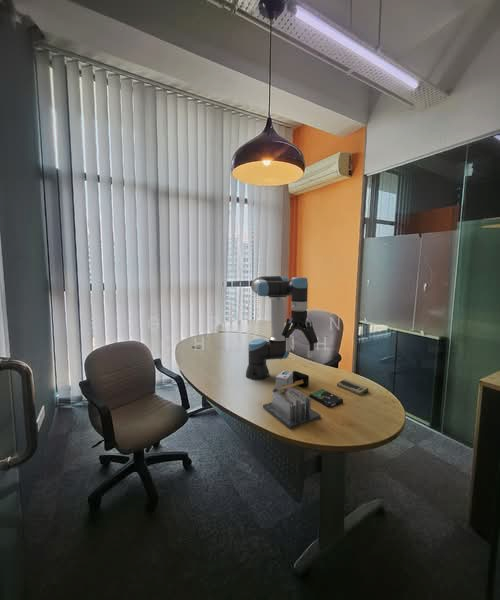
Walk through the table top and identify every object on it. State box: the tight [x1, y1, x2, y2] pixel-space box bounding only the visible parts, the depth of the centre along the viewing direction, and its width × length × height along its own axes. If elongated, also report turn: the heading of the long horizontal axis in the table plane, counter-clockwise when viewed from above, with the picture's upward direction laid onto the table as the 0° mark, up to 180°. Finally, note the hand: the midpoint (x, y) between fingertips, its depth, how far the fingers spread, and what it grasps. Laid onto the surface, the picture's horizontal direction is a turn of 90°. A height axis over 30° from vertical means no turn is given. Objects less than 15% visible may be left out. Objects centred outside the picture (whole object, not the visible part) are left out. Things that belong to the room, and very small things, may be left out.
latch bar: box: [277, 380, 304, 391], centre depth 134 cm, size 19×4×2 cm
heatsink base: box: [262, 385, 322, 430], centre depth 134 cm, size 22×18×10 cm
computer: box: [336, 378, 369, 396], centre depth 160 cm, size 16×8×3 cm, turn 34°
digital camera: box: [292, 370, 310, 389], centre depth 166 cm, size 10×5×7 cm, turn 41°
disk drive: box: [308, 388, 344, 409], centre depth 147 cm, size 10×3×15 cm
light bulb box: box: [275, 370, 294, 393], centre depth 156 cm, size 11×7×11 cm, turn 152°
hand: (298, 353), depth 133 cm, fingers open, 13 cm apart
